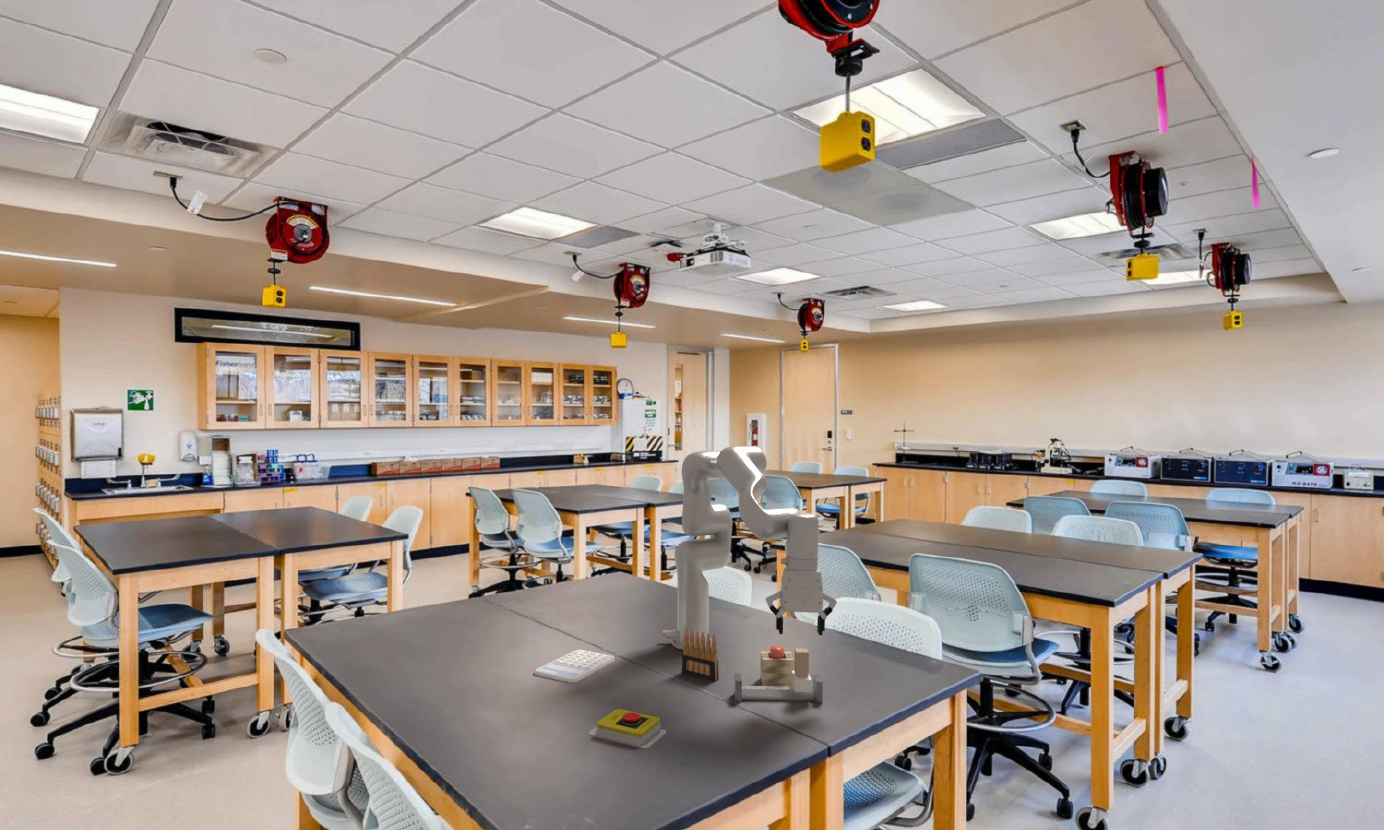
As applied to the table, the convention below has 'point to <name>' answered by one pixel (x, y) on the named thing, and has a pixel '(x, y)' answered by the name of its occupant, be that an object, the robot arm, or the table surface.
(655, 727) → the emergency button
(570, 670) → the calculator
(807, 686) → the carriage
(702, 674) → the ammunition clip
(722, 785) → the table surface
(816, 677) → the rail
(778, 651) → the button
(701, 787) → the table surface
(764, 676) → the wooden box
